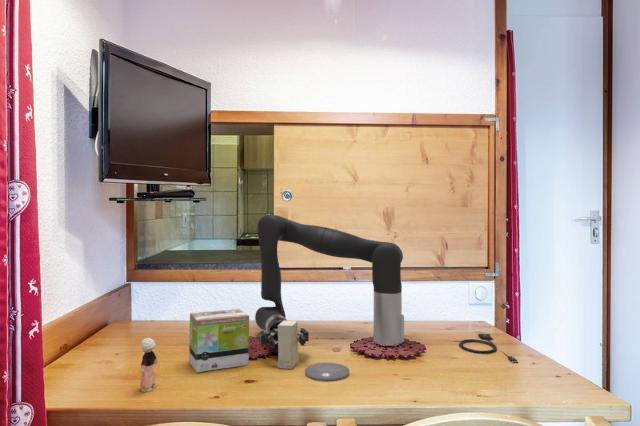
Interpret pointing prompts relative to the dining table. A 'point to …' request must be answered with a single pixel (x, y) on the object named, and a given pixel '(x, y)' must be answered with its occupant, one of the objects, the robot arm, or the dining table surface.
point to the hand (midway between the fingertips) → (288, 343)
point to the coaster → (327, 371)
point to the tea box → (218, 340)
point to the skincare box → (287, 344)
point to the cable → (488, 338)
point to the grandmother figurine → (148, 366)
